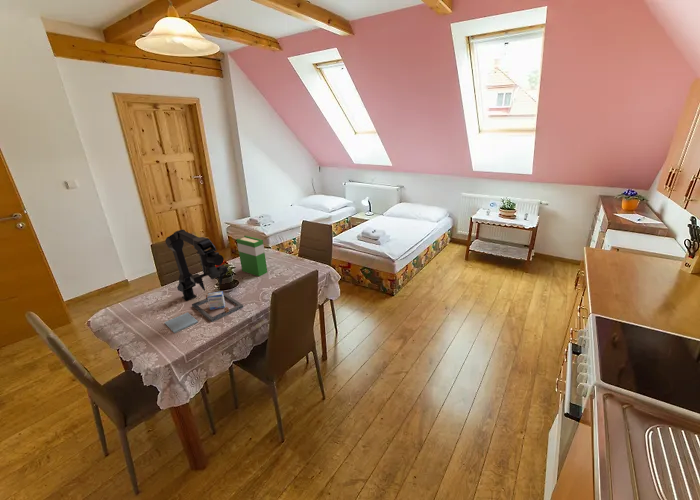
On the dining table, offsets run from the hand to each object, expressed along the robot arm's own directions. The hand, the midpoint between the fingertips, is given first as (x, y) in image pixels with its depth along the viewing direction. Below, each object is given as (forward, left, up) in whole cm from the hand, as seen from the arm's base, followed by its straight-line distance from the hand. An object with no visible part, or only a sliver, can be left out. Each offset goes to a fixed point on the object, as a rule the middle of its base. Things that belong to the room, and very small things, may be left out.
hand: (212, 287), depth 175 cm
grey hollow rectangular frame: (0, 0, -13) cm, 13 cm away
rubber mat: (0, -20, -13) cm, 23 cm away
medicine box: (0, 0, -13) cm, 13 cm away
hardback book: (-24, +39, -13) cm, 48 cm away
